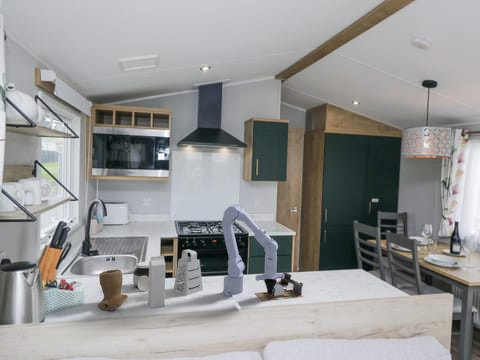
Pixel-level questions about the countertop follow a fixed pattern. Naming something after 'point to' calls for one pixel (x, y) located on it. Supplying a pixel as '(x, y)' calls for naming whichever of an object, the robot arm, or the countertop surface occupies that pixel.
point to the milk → (156, 282)
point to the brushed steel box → (278, 290)
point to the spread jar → (141, 276)
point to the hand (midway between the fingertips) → (269, 293)
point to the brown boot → (111, 289)
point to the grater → (188, 274)
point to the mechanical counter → (287, 279)
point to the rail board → (292, 293)
